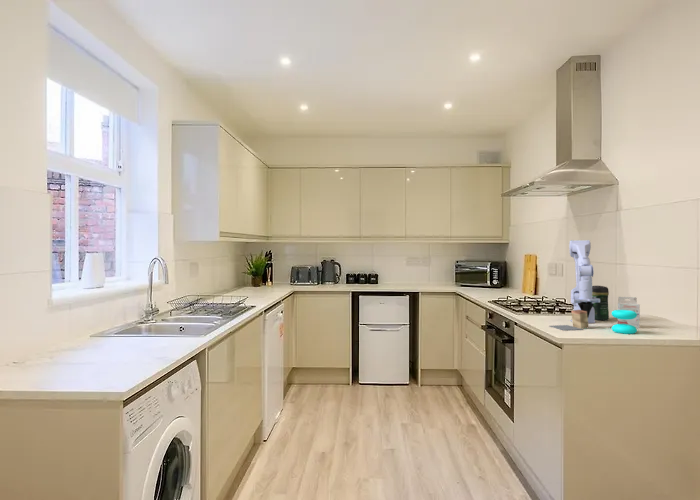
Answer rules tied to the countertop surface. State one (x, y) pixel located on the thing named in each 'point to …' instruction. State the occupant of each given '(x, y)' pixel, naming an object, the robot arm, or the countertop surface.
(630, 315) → the donuts
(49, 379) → the countertop surface
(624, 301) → the ink cartridge box
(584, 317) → the oak block
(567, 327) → the rubber mat
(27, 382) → the countertop surface
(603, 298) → the coffee jar
